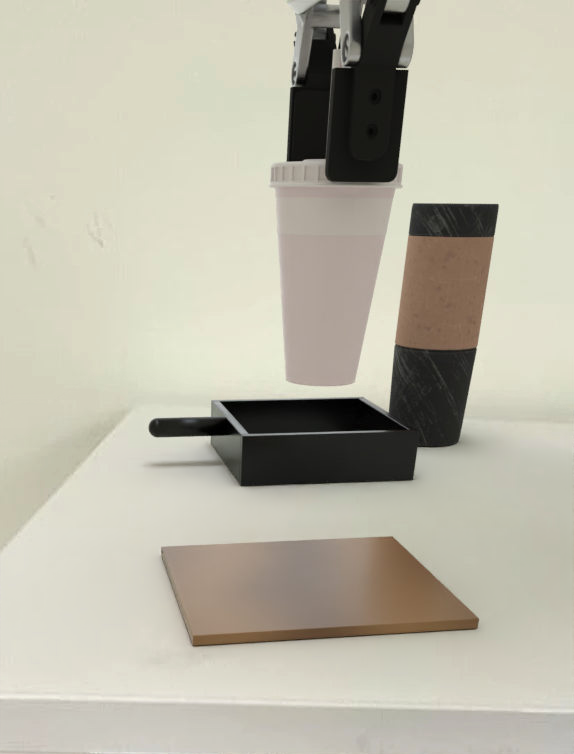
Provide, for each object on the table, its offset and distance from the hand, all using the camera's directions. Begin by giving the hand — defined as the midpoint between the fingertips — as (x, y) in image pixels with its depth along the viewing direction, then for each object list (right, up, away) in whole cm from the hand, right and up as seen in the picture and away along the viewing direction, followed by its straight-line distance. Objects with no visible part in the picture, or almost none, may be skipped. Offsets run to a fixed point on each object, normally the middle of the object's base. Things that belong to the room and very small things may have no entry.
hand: (337, 179), depth 42 cm
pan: (0, -2, +37) cm, 37 cm away
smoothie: (0, -8, +5) cm, 9 cm away
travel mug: (+16, +3, +45) cm, 48 cm away
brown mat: (0, -18, +11) cm, 21 cm away
